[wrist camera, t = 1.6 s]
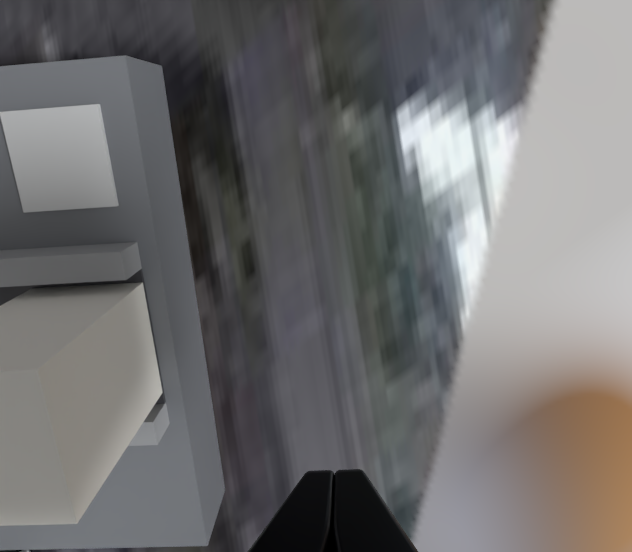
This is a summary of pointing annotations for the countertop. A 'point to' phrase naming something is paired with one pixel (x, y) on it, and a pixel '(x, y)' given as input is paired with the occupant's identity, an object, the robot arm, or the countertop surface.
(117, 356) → the switch tab
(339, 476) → the robot arm
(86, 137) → the switch board
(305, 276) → the countertop surface
